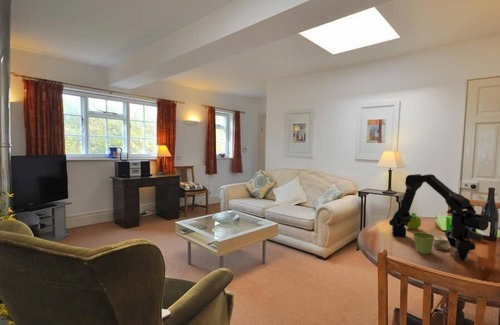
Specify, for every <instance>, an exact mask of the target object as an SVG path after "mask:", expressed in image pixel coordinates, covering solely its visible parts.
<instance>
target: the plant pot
mask: <svg viewBox="0 0 500 325" xmlns="http://www.w3.org/2000/svg"><path fill="white" fill-rule="evenodd" d="M412 236H413V239H414V244H415V251H416V252H417V253H420V254H424V255H428V254H429V255H430V254H431V253H432V247H433V246H432V243H433V240H434V238H435V236H436V235H434V234H432V233H428V232H421V231H417V232H413V233H412Z"/></svg>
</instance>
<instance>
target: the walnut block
mask: <svg viewBox="0 0 500 325" xmlns="http://www.w3.org/2000/svg"><path fill="white" fill-rule="evenodd" d="M468 255H469V252H468V253H467V255H466V258H465V260H464V261H462V260H461V259H460V257H459V254H458V252H457V249H456V247H450V257H451V259H452V260H453V261H455V262H464V263H468V262H469V261H468Z"/></svg>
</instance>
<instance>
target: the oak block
mask: <svg viewBox="0 0 500 325" xmlns="http://www.w3.org/2000/svg"><path fill="white" fill-rule="evenodd" d="M434 236H435V238H434V240H433V243H432V247H433V249H435V250H445V251H446V250H447V251H448V250H449V246H448V239H447V237H446V236H442V235H441V236H438V235H434Z"/></svg>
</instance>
